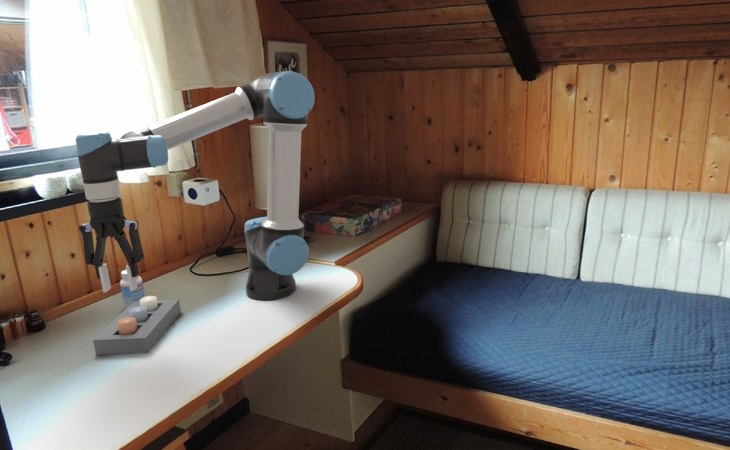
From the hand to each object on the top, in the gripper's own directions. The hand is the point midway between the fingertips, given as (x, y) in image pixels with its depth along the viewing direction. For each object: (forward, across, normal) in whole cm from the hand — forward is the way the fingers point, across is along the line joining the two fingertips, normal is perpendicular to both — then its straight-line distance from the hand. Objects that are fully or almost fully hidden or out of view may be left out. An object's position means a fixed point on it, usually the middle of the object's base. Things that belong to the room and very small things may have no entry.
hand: (120, 289), depth 142 cm
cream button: (+12, 0, -14) cm, 19 cm away
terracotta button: (+12, 0, 0) cm, 12 cm away
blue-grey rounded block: (+12, 0, -7) cm, 14 cm away
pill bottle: (+15, +9, -24) cm, 30 cm away
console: (+15, 0, -7) cm, 16 cm away
